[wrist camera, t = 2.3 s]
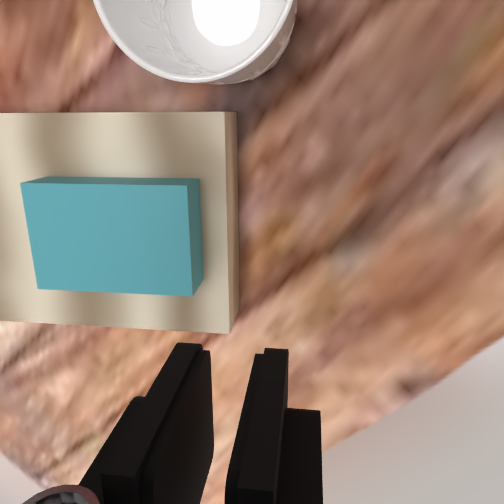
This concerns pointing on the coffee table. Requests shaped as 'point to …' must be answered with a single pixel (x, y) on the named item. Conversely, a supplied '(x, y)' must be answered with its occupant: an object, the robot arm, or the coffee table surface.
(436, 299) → the coffee table surface
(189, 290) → the teal block
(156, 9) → the white cup
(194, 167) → the beige block
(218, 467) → the coffee table surface
